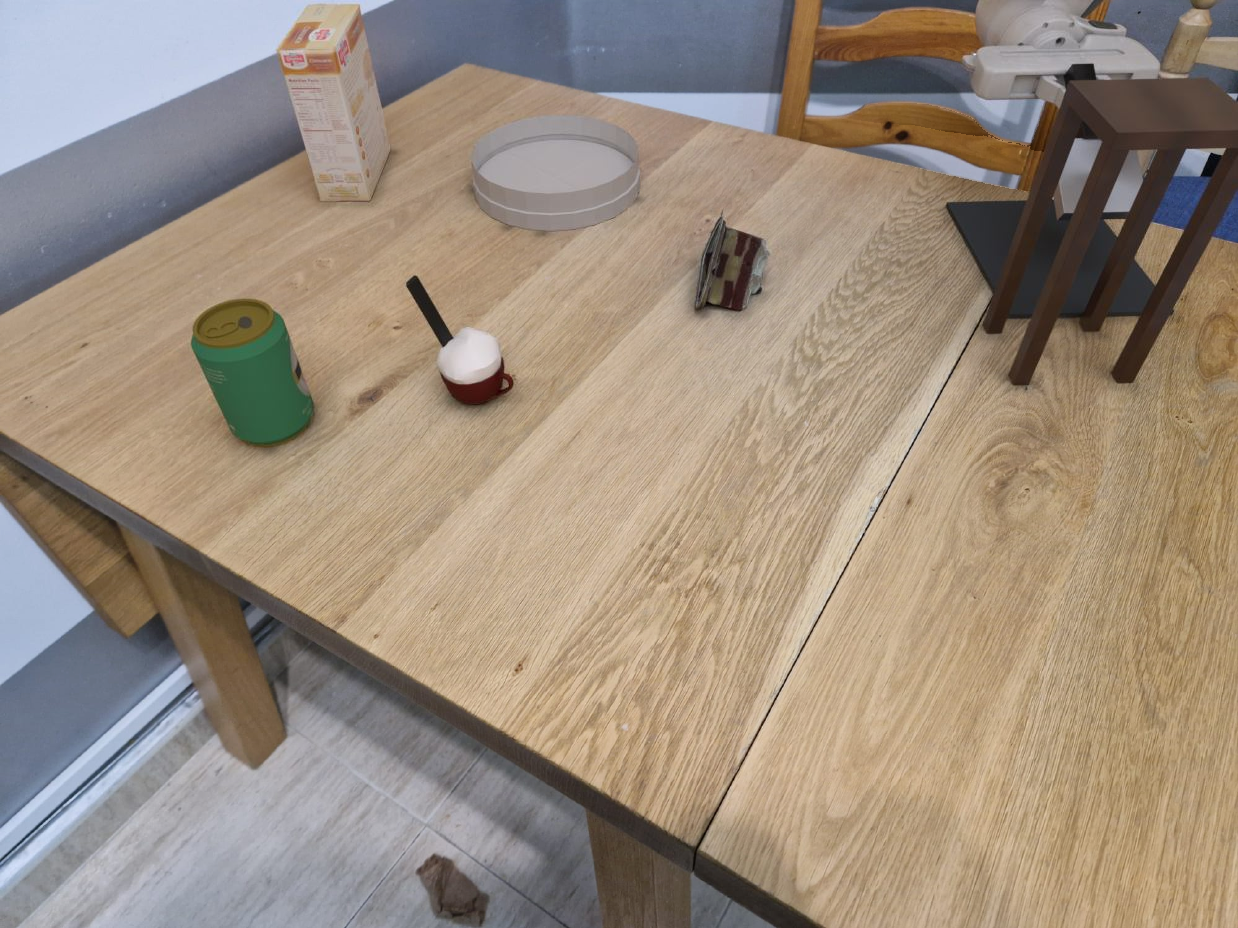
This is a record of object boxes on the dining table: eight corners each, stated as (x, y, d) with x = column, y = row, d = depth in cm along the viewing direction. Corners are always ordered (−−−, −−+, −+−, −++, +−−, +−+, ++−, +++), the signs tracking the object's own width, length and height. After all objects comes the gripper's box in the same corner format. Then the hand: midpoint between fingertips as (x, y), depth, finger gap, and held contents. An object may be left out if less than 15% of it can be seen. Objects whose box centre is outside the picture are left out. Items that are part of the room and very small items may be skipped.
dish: (674, 187, 115) (675, 151, 111) (547, 251, 104) (544, 214, 101) (565, 134, 126) (563, 100, 123) (441, 187, 116) (435, 151, 112)
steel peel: (1113, 74, 98) (1123, 62, 96) (1140, 219, 93) (1151, 209, 91) (1034, 76, 98) (1042, 64, 96) (1056, 220, 93) (1066, 211, 91)
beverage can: (326, 431, 83) (290, 331, 74) (242, 461, 80) (194, 361, 72) (304, 384, 88) (268, 285, 79) (224, 411, 85) (177, 311, 76)
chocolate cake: (756, 328, 94) (790, 221, 93) (695, 308, 93) (729, 200, 93) (737, 334, 103) (768, 238, 103) (682, 316, 103) (712, 219, 102)
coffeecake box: (343, 149, 124) (306, 3, 110) (393, 149, 124) (362, 2, 110) (317, 202, 113) (272, 48, 99) (371, 202, 113) (334, 47, 99)
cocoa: (526, 400, 86) (514, 299, 77) (473, 428, 83) (454, 328, 74) (473, 355, 91) (456, 256, 82) (422, 380, 88) (398, 281, 79)
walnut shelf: (1093, 322, 93) (1208, 77, 74) (1133, 382, 86) (1270, 129, 67) (982, 324, 93) (1068, 80, 74) (1013, 385, 86) (1117, 132, 67)
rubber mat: (1086, 203, 110) (1087, 199, 110) (1172, 315, 94) (1174, 310, 93) (945, 206, 110) (946, 201, 110) (1006, 318, 94) (1008, 314, 93)
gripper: (964, 27, 102) (1001, 74, 93) (1136, 24, 102) (1191, 71, 93) (950, 81, 107) (984, 131, 97) (1114, 78, 107) (1165, 128, 97)
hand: (1086, 102), depth 95 cm, fingers closed on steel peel, 2 cm apart
